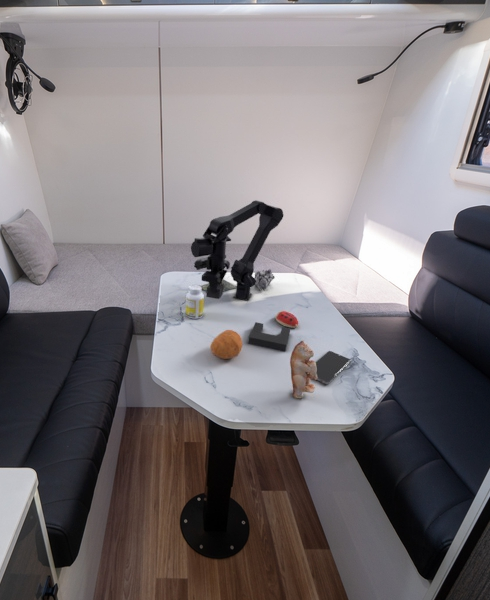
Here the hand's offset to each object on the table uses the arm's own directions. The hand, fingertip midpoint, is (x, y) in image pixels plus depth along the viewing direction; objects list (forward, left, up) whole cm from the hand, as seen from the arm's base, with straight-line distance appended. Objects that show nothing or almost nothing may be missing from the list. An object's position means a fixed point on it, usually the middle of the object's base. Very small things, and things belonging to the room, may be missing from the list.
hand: (215, 290), depth 147 cm
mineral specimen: (-24, +15, -6) cm, 29 cm away
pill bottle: (+13, -4, -6) cm, 15 cm away
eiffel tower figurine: (-16, -3, -6) cm, 17 cm away
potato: (+34, +14, -6) cm, 37 cm away
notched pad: (+19, +25, -6) cm, 32 cm away
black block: (0, 0, -2) cm, 2 cm away
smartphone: (+29, +44, -6) cm, 53 cm away
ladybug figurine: (+5, +29, -6) cm, 30 cm away
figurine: (+44, +37, -6) cm, 58 cm away
